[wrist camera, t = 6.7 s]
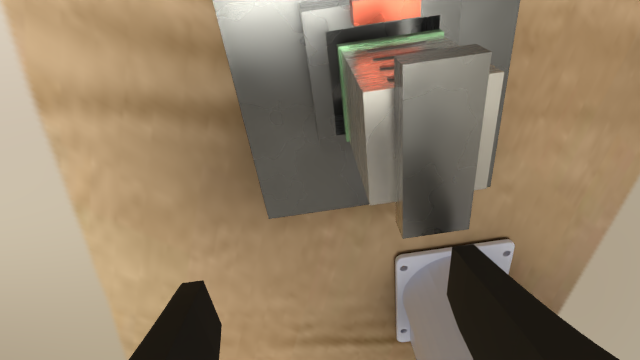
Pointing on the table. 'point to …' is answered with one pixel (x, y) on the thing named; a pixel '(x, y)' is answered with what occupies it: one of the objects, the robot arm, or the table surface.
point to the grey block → (420, 125)
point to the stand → (330, 83)
